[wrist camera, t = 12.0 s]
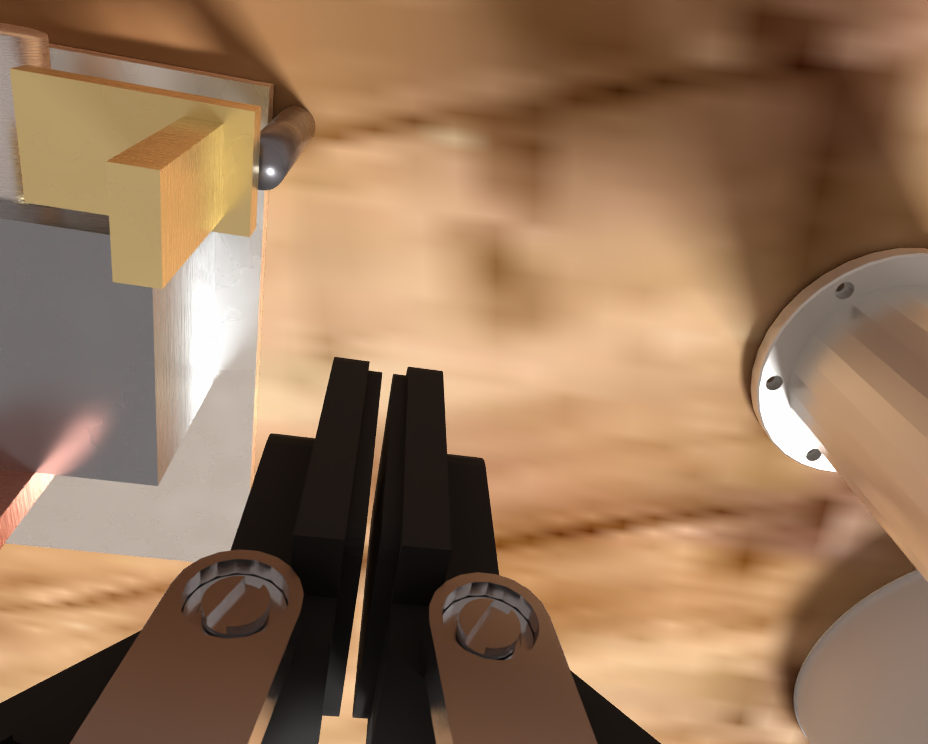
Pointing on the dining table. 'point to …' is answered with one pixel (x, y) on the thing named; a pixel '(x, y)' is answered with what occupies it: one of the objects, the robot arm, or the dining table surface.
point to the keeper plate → (138, 164)
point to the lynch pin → (3, 47)
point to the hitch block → (136, 357)
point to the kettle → (870, 671)
